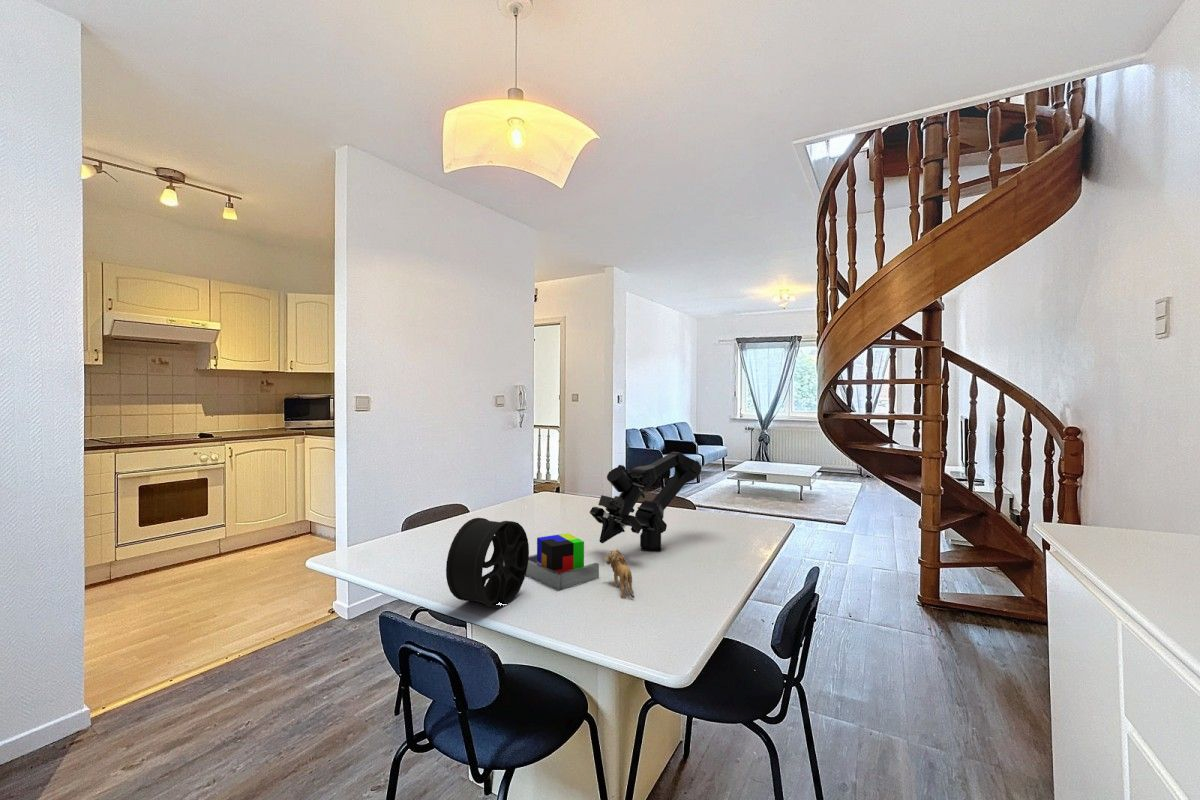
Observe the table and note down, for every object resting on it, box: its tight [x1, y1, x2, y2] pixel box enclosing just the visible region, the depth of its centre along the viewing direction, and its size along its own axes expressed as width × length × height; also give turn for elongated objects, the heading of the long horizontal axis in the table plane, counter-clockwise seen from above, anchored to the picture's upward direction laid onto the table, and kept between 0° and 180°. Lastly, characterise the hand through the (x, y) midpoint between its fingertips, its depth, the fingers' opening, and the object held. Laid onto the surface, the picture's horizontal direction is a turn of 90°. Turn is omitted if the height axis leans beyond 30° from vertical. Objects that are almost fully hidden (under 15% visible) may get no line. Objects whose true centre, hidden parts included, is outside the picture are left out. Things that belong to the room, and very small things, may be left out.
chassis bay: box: [525, 553, 600, 591], centre depth 143 cm, size 14×18×4 cm
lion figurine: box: [604, 549, 635, 599], centre depth 132 cm, size 15×5×9 cm, turn 21°
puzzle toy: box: [536, 532, 585, 573], centre depth 143 cm, size 10×10×10 cm
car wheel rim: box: [445, 517, 530, 609], centre depth 124 cm, size 20×10×20 cm, turn 156°
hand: (600, 542), depth 153 cm, fingers closed
